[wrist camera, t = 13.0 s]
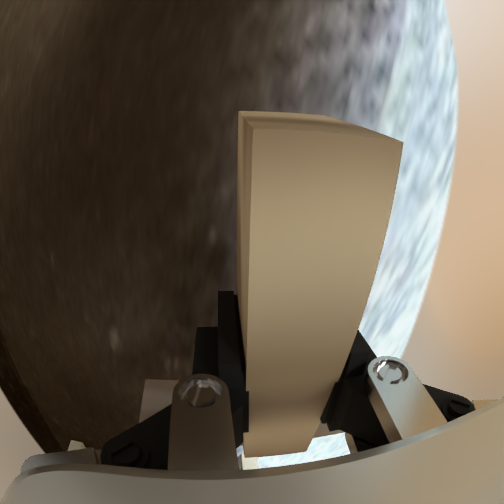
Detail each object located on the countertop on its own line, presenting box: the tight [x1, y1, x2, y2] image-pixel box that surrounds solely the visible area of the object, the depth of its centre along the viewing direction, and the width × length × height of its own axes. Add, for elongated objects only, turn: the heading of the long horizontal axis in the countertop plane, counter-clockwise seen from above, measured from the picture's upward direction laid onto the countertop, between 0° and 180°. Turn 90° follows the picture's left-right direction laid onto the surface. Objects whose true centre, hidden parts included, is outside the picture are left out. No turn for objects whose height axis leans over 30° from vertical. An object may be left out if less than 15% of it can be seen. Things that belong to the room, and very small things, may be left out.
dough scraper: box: [139, 111, 403, 458], centre depth 9 cm, size 12×11×4 cm
